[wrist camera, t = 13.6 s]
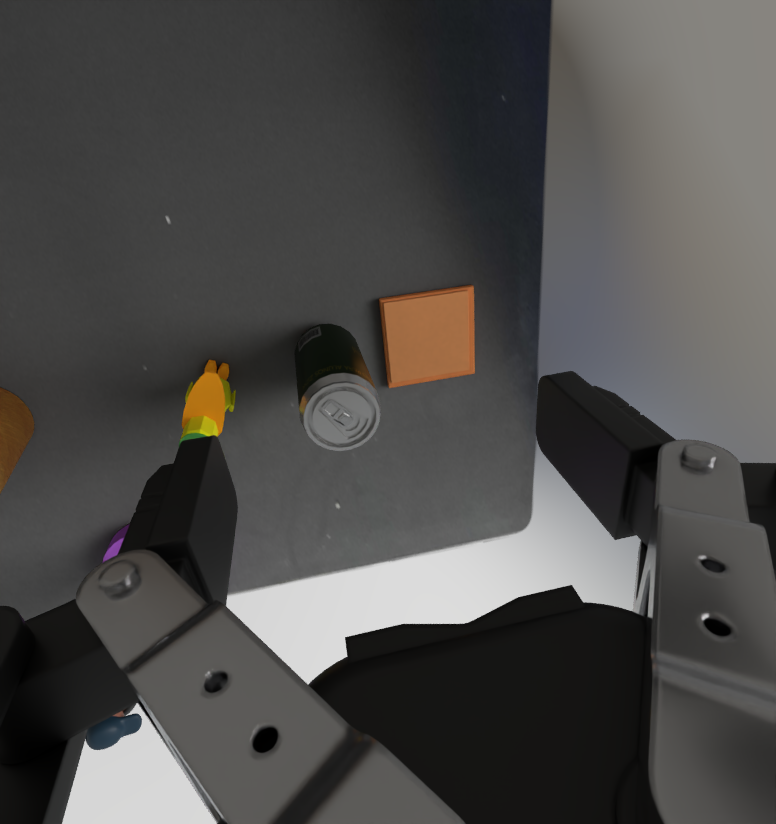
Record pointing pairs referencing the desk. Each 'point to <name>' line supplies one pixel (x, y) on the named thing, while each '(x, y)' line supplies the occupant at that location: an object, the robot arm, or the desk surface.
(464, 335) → the orange square panel
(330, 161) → the desk surface
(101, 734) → the figurine
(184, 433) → the toy figure
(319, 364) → the beer can
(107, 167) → the desk surface
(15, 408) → the disposable coffee cup
